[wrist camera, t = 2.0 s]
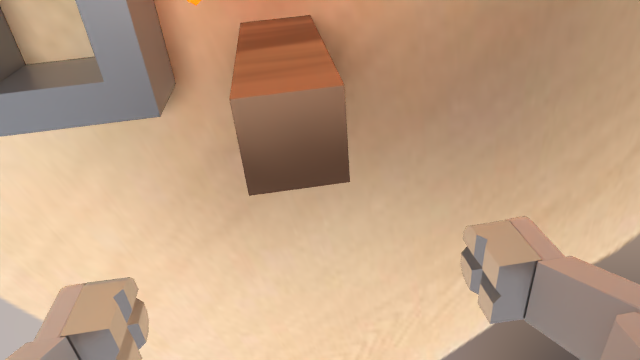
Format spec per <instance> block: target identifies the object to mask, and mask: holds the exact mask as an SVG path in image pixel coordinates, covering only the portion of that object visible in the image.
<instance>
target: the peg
mask: <svg viewBox="0 0 640 360" xmlns="http://www.w3.org/2000/svg"><path fill="white" fill-rule="evenodd" d="M230 104H231V109H232V114H233V119H234V124H235V129H236V134H237V139H238V144H239V148H240V153H241V158H242V163H243V168H244V173H245V178H246V183H247V188H248V193H249V196H250V195H257V194H265V193H272V192H279V191H287V190H294V189H301V188H309V187H316V186H324V185H331V184H338V183H346V182H350V176H349V158H348V140H347V123H346V105H345V87H344V83H343V81H342V79H341V77H340V75H339V73H338V71H337V69H336V67H335V65H334V63H333V61H332V59H331V57H330V55H329V53H328V51H327V49H326V47H325V45H324V43H323V41H322V39H321V37H320V35H319V33H318V31H317V29H316V27H315V25H314V23H313V21H312V18H311V16H310V15H307V16H299V17H290V18H281V19H272V20H263V21H254V22H246V23H241V24H240V31H239V38H238V45H237V52H236V58H235V65H234V72H233V79H232V86H231V93H230Z"/></svg>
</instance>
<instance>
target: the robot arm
mask: <svg viewBox="0 0 640 360" xmlns="http://www.w3.org/2000/svg"><path fill="white" fill-rule="evenodd" d="M463 240H464V242H465V243H466V245H467V247H466V248H465V249H464V251H463V252H462V253H461V268H462V274H463V277H464V279H465V282H466V284H467V286H468V287H469V289H470V290H471V291H473V292H475V293H477V294H478V295H479V296H478V305H479V306H480V308H481V310H482V311H483V313H484V315H485V316H486V318H487V320H488V321H489V323H490V324H493V323H500V322H507V321H514V320H522V319H525V322H527V323H528V324H530V325H531V326H533V327H534V328H536V329H537V330H538V331H540V332H541V333H543V334H544V335H546V336H547V337H549V338H550V339H552V340H553V341H554V342H556V343H557V344H559V345H560V346H562V347H563V348H564V349H566V350H567V351H569V352H570V353H572V354H573V355H575V356H576V357H577V358H579V359H580V360H640V285H639V284H637V283H634V282H632V281H630V280H627V279H624V278H622V277H620V276H618V275H615V274H613V273H611V272H608V271H606V270H603V269H601V268H599V267H596V266H594V265H592V264H589V263H587V262H584V261H582V260H580V259H577V258H575V257H573V256H568V257H565V256H564V255H563V254H562V253H561V252H560V251H559V249H558V248H557V247H556V246H555V245H554V244H553V243H552V242H551V241H550V240H549V239H548V238H547V237H546V236H545V234H544V233H543V232H542V231H541V230H540V229H539V228H538V227H537V226H536V225H535V224H534V223H533V222H532V221H531V220H530V219H529V218H528V217H525V216H523V217H517V218H511V219H506V220H502V221H496V222H490V223H483V224H477V225H471V226H466V228H465V230H464V234H463ZM137 292H138V287H137V285H136V283H135V281H134V279H133V278H130V277H127V278H119V279H112V280H104V281H96V282H89V283H83V284H76V285H68V286H65V287H63V288H62V289H61V290H60V291H59V293H58V295H57V297H56V299H55V301H54V303H53V305H52V306H51V308H50V310H49V312H48V314H47V316H46V318H45V320H44V322H43V324H42V326H41V328H40V329H39V331H38V334H37V335H36V337H35V339H34V341H33V342H29V343H25V344H24V345H23V346H22V347H20V348H19V349H18V350H17V351H15V352H14V353H13V354H12V355H10V356H9V357H8V358H7V359H5V360H142V357H141V354H140V352H139V349H140V348H141V347H142V346H143V345H144V344H145V343H146V341H147V336H148V331H149V319H148V313H147V309H146V307H145V304H144V302H142V301H140V300H139V299H137V298H136V296H137Z"/></svg>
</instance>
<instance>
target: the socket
mask: <svg viewBox="0 0 640 360" xmlns="http://www.w3.org/2000/svg"><path fill="white" fill-rule="evenodd" d="M75 1H76V4H77V6H78V9H79V12H80V15H81V18H82V21H83V23H84V26H85V29H86V32H87V35H88V38H89V40H90V43H91V46H92V49H93V52H94V55H95V57H90V58H82V59H73V60H64V61H56V62H47V63H38V64H30V65H25V63H24V60H23V58H22V56H21V54H20V51H19V49H18V47H17V45H16V42H15V40H14V38H13V35H12V33H11V31H10V29H9V26H8V24H7V22H6V20H5V17H4V15H3V13H2V11H1V8H0V136H8V135H17V134H25V133H33V132H41V131H49V130H57V129H65V128H73V127H81V126H89V125H97V124H105V123H113V122H121V121H129V120H137V119H145V118H153V117H160V116H161V114H162V112H163V110H164V108H165V105H166V103H167V101H168V99H169V97H170V95H171V92H172V90H173V88H174V86H175V84H176V83H175V80H174V76H173V72H172V68H171V64H170V61H169V57H168V53H167V49H166V46H165V42H164V38H163V34H162V31H161V27H160V23H159V19H158V16H157V12H156V8H155V4H154V0H75Z"/></svg>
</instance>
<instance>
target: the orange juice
mask: <svg viewBox="0 0 640 360" xmlns="http://www.w3.org/2000/svg"><path fill="white" fill-rule="evenodd" d="M187 1H188V2H189V3H190V2H191V3H193V4H194V5H197V4H198V3H199V2H200V1H201V0H187Z"/></svg>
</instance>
